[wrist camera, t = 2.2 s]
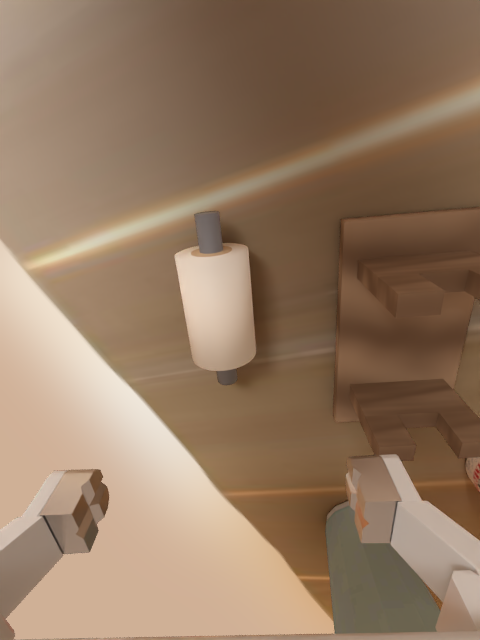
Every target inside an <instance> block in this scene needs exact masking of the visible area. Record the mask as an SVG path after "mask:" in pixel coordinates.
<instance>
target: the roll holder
mask: <svg viewBox="0 0 480 640" xmlns="http://www.w3.org/2000/svg"><path fill="white" fill-rule="evenodd" d="M475 298H477V299H478V300H480V207H472V208H461V209H449V210H438V211H427V212H415V213H404V214H392V215H381V216H369V217H358V218H347V219H341V226H340V252H339V277H338V302H337V327H336V352H335V377H334V402H333V417H334V419H335V422H353V421H360V423H361V425H362V427H363V430H364V432H365V434H366V437H367V439H368V441H369V443H370V446H371V448H372V450H373V452H374V455H390V454H396V455H397V456H399V458H400V460H401V461H412V460H414V454H415V449H416V444H415V443H414V441H413V439H412V438H411V436H410V434H409V433H408V431H407V429H406V428H419V427H436V428H437V429H438V431H439V432H440V433H441V435H442V436H443V437H444V439H445V440H446V442H447V443H448V444H449V446H450V447H451V449H452V450H453V451H454V453H455V454H456V456H457V457H458V458H475V457H480V419H479V417H478V416H477V415H476V414H475V413H474V412H473V411H472V410H471V409H470V408H469V407H468V405H467V404H466V403H465V402H464V401H463V400H462V399H461V398H460V397H459V396H458V395H457V393H456V392H455V391H454V386H455V382H456V377H457V373H458V369H459V364H460V360H461V356H462V351H463V347H464V342H465V338H466V334H467V329H468V325H469V321H470V316H471V312H472V308H473V303H474V299H475Z"/></svg>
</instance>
